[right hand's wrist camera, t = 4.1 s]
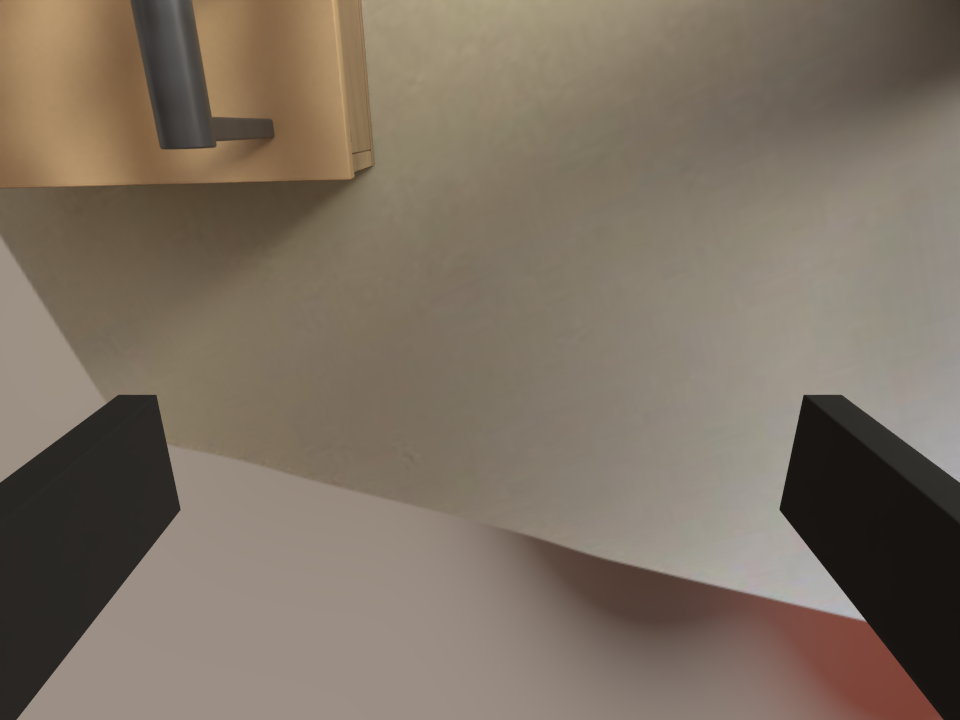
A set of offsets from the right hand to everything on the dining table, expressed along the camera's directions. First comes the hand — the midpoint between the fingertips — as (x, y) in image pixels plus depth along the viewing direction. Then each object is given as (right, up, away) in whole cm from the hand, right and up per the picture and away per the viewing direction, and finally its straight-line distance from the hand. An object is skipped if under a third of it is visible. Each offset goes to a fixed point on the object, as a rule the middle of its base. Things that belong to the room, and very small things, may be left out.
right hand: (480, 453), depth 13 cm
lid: (-13, +14, +11) cm, 21 cm away
